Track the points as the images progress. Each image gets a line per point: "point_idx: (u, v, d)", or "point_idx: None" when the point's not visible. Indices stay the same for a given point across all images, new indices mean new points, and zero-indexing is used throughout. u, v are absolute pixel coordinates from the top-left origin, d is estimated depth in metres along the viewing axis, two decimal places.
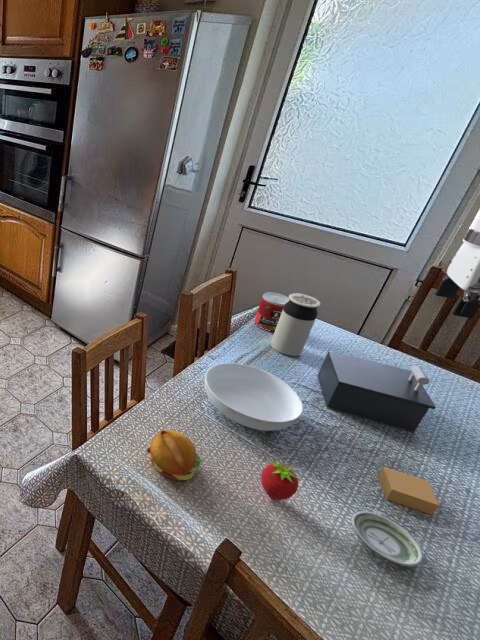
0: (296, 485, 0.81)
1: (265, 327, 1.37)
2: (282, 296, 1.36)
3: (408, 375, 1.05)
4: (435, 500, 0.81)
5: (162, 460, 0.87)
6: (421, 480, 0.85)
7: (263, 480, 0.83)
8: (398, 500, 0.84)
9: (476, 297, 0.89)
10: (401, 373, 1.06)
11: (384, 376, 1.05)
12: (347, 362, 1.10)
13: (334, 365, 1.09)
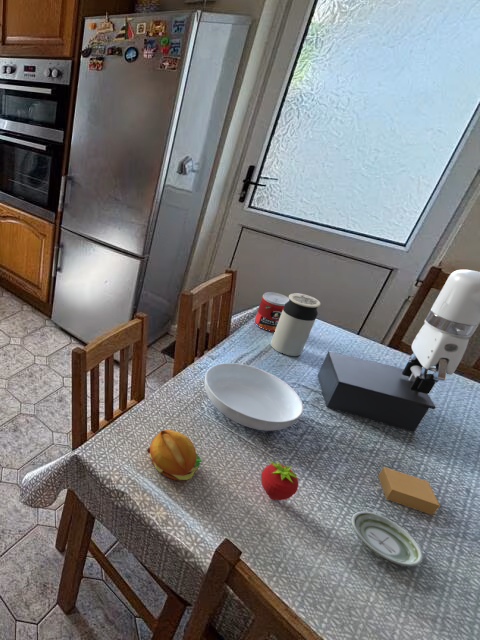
0: (296, 485, 0.81)
1: (265, 327, 1.37)
2: (282, 296, 1.36)
3: None
4: (435, 500, 0.81)
5: (162, 460, 0.87)
6: (421, 480, 0.85)
7: (263, 480, 0.83)
8: (398, 500, 0.84)
9: (430, 377, 0.95)
10: (401, 373, 1.06)
11: (384, 376, 1.05)
12: (347, 362, 1.10)
13: (334, 365, 1.09)
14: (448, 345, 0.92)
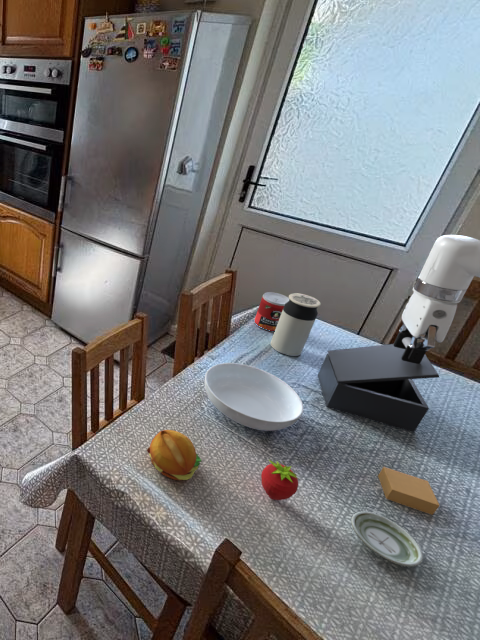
0: (296, 485, 0.81)
1: (265, 327, 1.37)
2: (282, 296, 1.36)
3: None
4: (435, 500, 0.81)
5: (162, 460, 0.87)
6: (421, 480, 0.85)
7: (263, 480, 0.83)
8: (398, 500, 0.84)
9: (420, 345, 0.93)
10: None
11: (384, 358, 1.03)
12: (346, 356, 1.09)
13: (333, 365, 1.09)
14: (436, 312, 0.91)
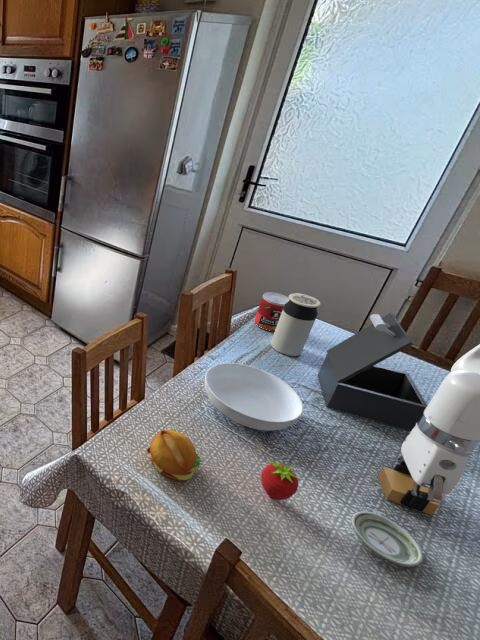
0: (296, 485, 0.81)
1: (265, 327, 1.37)
2: (282, 296, 1.36)
3: (386, 322, 1.03)
4: None
5: (162, 460, 0.87)
6: None
7: (263, 480, 0.83)
8: (398, 500, 0.84)
9: (424, 496, 0.78)
10: None
11: (369, 341, 1.03)
12: (341, 351, 1.09)
13: (332, 364, 1.09)
14: (444, 461, 0.76)
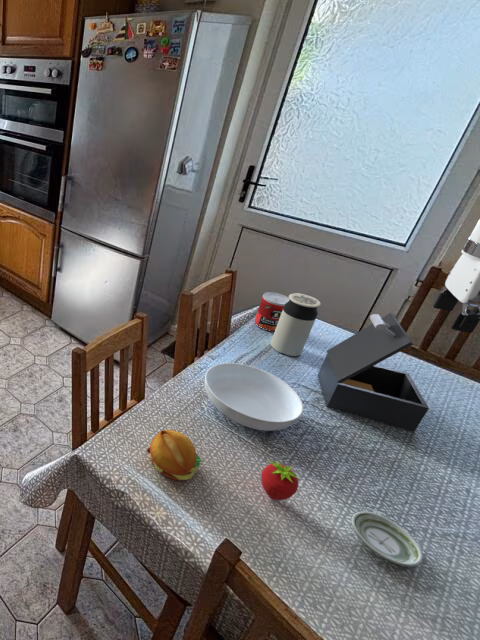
0: (296, 485, 0.81)
1: (265, 327, 1.37)
2: (282, 296, 1.36)
3: (386, 322, 1.03)
4: None
5: (162, 460, 0.87)
6: None
7: (263, 480, 0.83)
8: None
9: (475, 312, 0.85)
10: None
11: (369, 341, 1.03)
12: (341, 351, 1.09)
13: (332, 364, 1.09)
14: None
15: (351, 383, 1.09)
